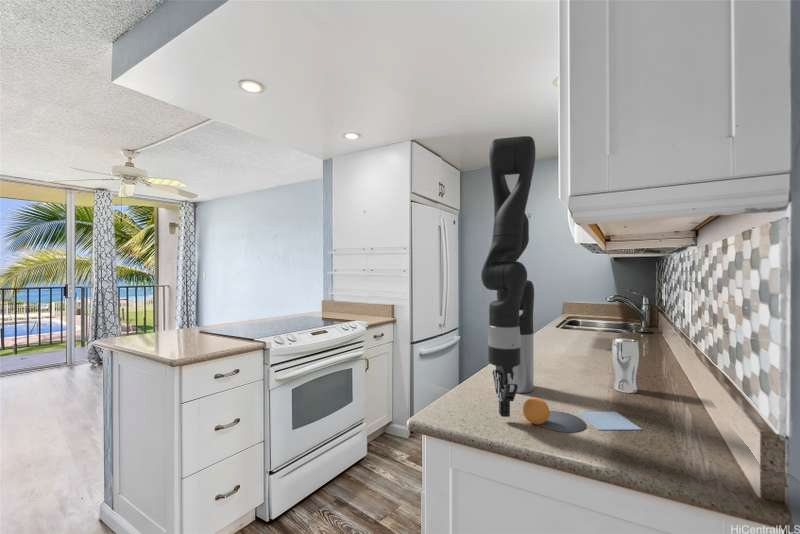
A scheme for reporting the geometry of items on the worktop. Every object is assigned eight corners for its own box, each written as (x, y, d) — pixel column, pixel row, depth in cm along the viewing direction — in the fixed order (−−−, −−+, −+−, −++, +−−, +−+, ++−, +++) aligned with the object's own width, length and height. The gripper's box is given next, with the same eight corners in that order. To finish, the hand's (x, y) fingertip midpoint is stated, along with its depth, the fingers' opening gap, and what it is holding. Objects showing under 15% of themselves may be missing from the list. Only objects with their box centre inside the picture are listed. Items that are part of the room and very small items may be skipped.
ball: (546, 394, 90) (548, 418, 90) (520, 394, 92) (522, 418, 92) (550, 402, 84) (552, 428, 84) (522, 402, 86) (525, 428, 86)
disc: (524, 411, 95) (524, 410, 95) (571, 411, 95) (571, 410, 95) (543, 432, 83) (543, 431, 83) (596, 432, 83) (596, 431, 83)
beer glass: (638, 388, 113) (638, 339, 113) (639, 395, 107) (639, 343, 107) (612, 384, 116) (612, 337, 116) (611, 391, 110) (611, 341, 110)
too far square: (576, 412, 94) (576, 412, 94) (615, 412, 94) (615, 411, 94) (598, 430, 84) (598, 429, 84) (641, 429, 84) (641, 429, 84)
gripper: (529, 350, 82) (529, 427, 82) (511, 338, 96) (511, 405, 96) (496, 350, 82) (496, 427, 82) (482, 338, 96) (482, 405, 96)
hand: (504, 415), depth 89 cm, fingers closed
